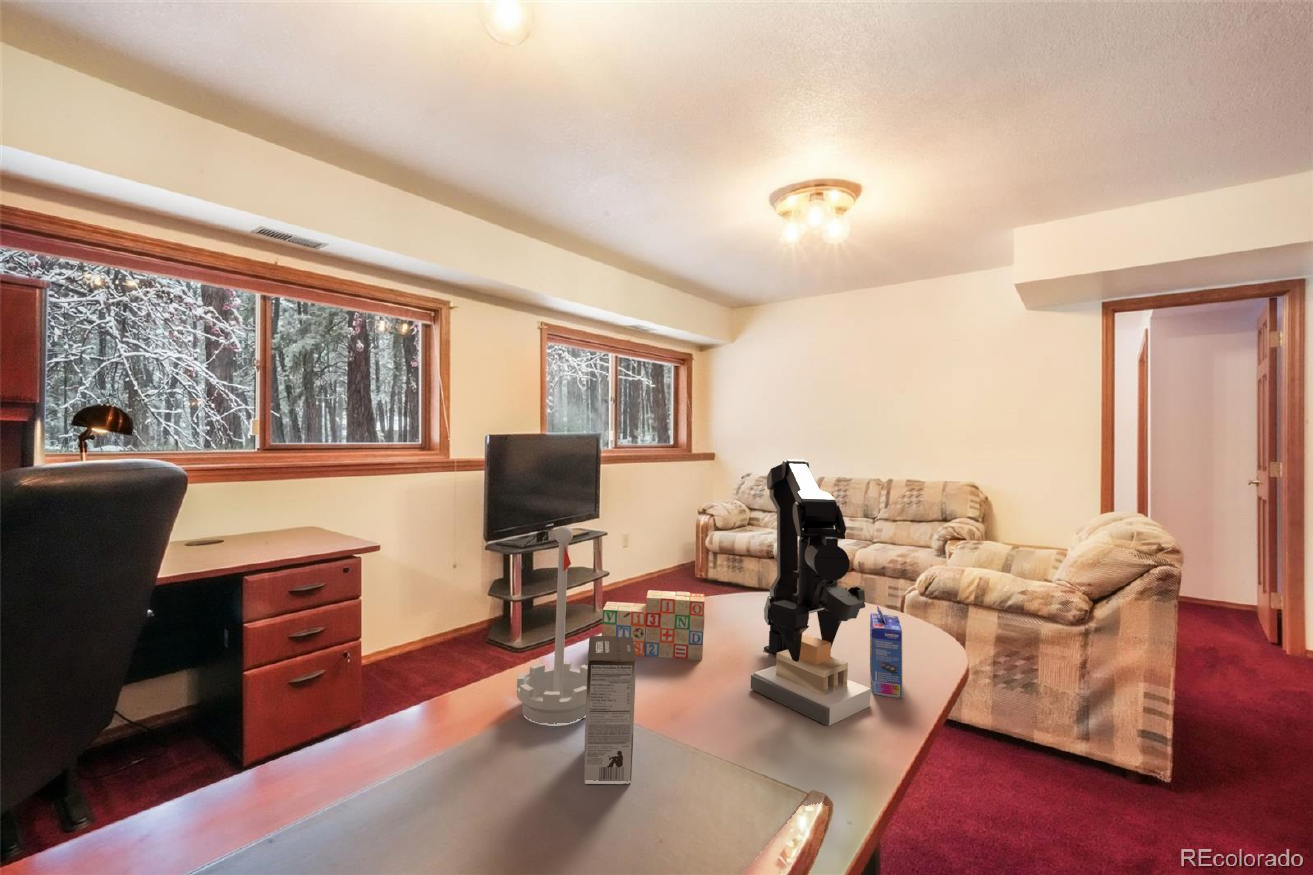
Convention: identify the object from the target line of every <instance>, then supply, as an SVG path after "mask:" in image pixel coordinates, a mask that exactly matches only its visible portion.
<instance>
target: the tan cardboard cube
mask: <svg viewBox="0 0 1313 875" xmlns="http://www.w3.org/2000/svg"><path fill="white" fill-rule="evenodd" d="M831 650H832V647H831V643H830V642H827V641H824V640H822V638H819V637H815V636H813V635H810V634H804V635H802V641H801V650H800V657H799V658H801V659H803V660H806V661H808V662H811V663H813V664H816V665H817V664H820V663H823V662H826V661H829V660H830V657H832V654H831Z"/></svg>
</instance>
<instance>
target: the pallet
mask: <svg viewBox="0 0 1313 875" xmlns="http://www.w3.org/2000/svg"><path fill="white" fill-rule="evenodd" d="M775 662H776V675H777V676H779V677H781V678H784V679H786V680H788V681H791V682H793V683H795V684H797V685H800V686H802V687H804V688H806V689H809V690H811V691H813V692H816V693H818V694H820V695H822V696H824V695H826V694H827V692H828V689H829V690H831V691H836V690H838V685H839V686H841V687H845V686H847V679H848V675H849V673H848V672H849V671H848V670H849V669H848V668H849V663H848V662H847V661H845V660H841V659H840V658H836V657H834V656H831V657H830V660H829V661H826V662H823V663H820V664H817V665H816V664H813V663H811V662H808V661H806V660H803V659H801V658H799V661H798V662H796V661H793V660H792V658H791V655H790V653H789V651H788V649H787V650H784V651H781V652H778V653H777V655H776V661H775Z"/></svg>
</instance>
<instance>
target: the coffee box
mask: <svg viewBox="0 0 1313 875" xmlns="http://www.w3.org/2000/svg"><path fill="white" fill-rule="evenodd" d="M587 652H588V653H587V690H586V717H585V718H584V724H585V726H584V757H583V758H584V762H583V763H584V764H583V765H584V766H583V767H584V768H583V769H584V770H583V781H584V780H593V781H596V780H598V781H626V782H628V781H631V782H632V777H633V776H632V771H633V750H634V748H633V747H634V746H633V745H634V727H635V726H634V724H635V723H634V722H635V700H636V674H637V673H636V671H637V670H636V669H637V658H636V657H637V655H635V649H634V642H633V637H617V636H602V635H591V636H589V641H588V651H587Z"/></svg>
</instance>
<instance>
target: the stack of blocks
mask: <svg viewBox="0 0 1313 875" xmlns="http://www.w3.org/2000/svg"><path fill="white" fill-rule="evenodd" d="M645 600H646V601H645V603H635V602H620V601H619V602H618V601H606V603H605V604H604V607H603V608H602V618H601V624H602V626H601V636H617V637H633V642H634V649H635V656H636V657H637V656H640V657H655V658H671V659H672V658H673V659H681V660H683V659H685V660H700V661H703V651H704V649H703V647H704V631H705V600H706V599H705V594H704V593H693V592H688V591H668V590H667V591H666V590H663V591H662V590H652V589H651V590H650V589H649V590H648V591H647V594H646V599H645Z"/></svg>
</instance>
